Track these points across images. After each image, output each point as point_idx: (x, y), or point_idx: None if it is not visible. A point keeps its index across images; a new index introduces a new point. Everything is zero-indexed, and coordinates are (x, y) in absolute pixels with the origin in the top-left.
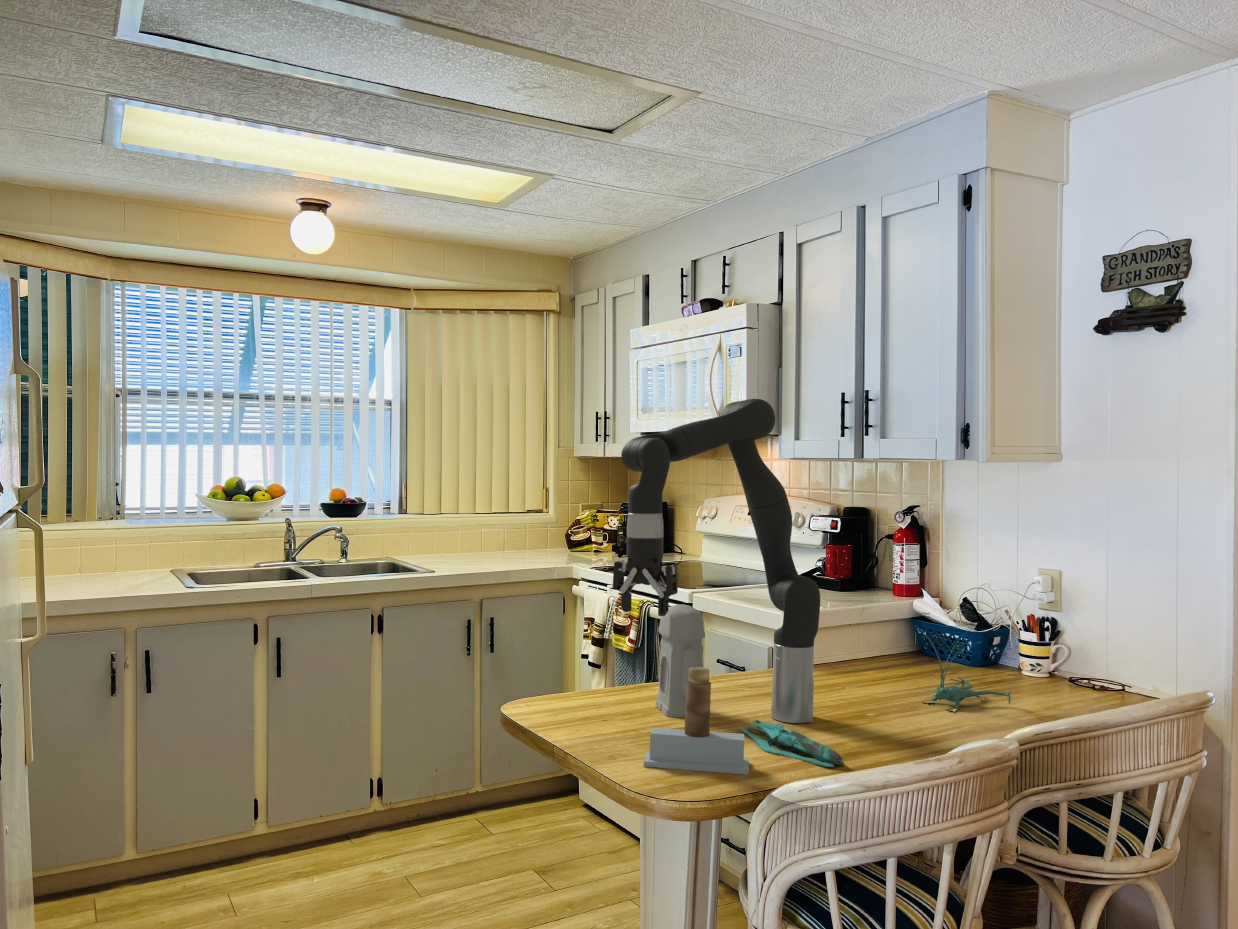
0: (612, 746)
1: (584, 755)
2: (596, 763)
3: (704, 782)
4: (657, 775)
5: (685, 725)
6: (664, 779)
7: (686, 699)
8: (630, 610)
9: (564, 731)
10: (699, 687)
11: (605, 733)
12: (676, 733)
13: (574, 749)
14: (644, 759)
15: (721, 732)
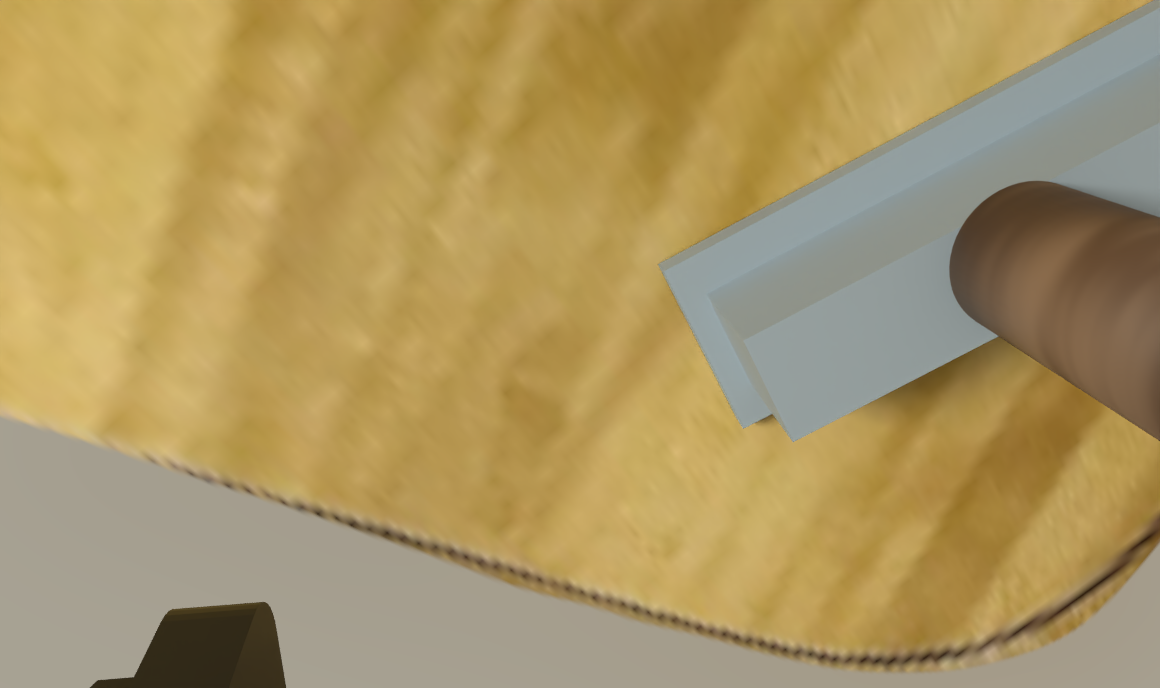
0: (421, 275)
1: (407, 483)
2: (529, 527)
3: (1062, 393)
4: (846, 462)
5: (996, 334)
6: (895, 480)
7: (1099, 401)
8: (268, 622)
9: (4, 247)
10: None
11: (218, 101)
12: (918, 337)
13: (301, 450)
14: (732, 405)
15: (1147, 129)
